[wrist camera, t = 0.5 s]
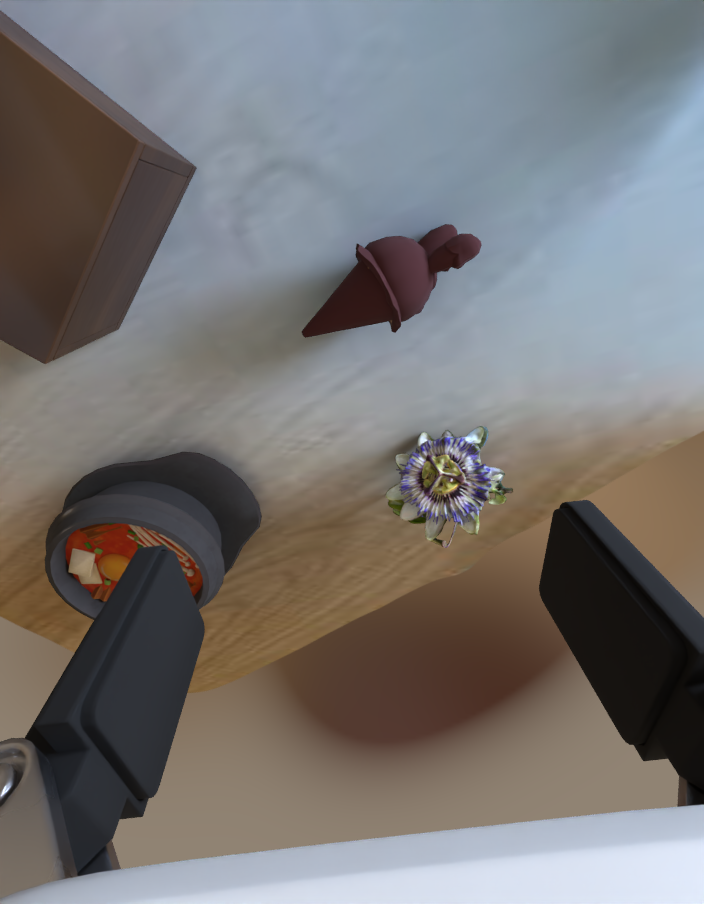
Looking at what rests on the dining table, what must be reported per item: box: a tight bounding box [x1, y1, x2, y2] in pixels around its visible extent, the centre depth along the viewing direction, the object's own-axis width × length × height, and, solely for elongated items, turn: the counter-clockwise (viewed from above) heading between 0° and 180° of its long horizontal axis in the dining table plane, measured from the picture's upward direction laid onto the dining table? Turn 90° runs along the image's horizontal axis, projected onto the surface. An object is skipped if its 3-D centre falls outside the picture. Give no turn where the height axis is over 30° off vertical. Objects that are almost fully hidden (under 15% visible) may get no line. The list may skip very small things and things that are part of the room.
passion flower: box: [386, 426, 513, 548], centre depth 42 cm, size 11×11×12 cm
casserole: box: [45, 452, 262, 620], centre depth 43 cm, size 25×19×8 cm
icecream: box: [302, 224, 481, 337], centre depth 32 cm, size 7×7×15 cm
